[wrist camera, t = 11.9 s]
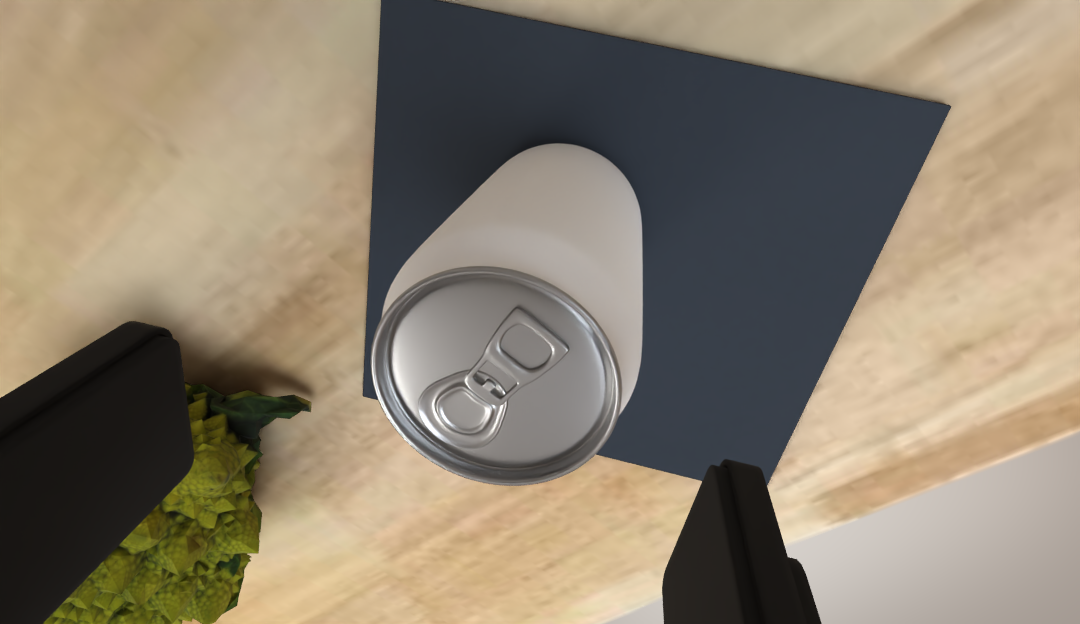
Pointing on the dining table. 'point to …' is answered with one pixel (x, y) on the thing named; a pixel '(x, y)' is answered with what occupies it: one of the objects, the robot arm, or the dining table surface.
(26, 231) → the dining table surface
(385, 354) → the can
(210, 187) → the dining table surface
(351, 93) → the dining table surface
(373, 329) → the mat
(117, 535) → the robot arm
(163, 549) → the vegetable
